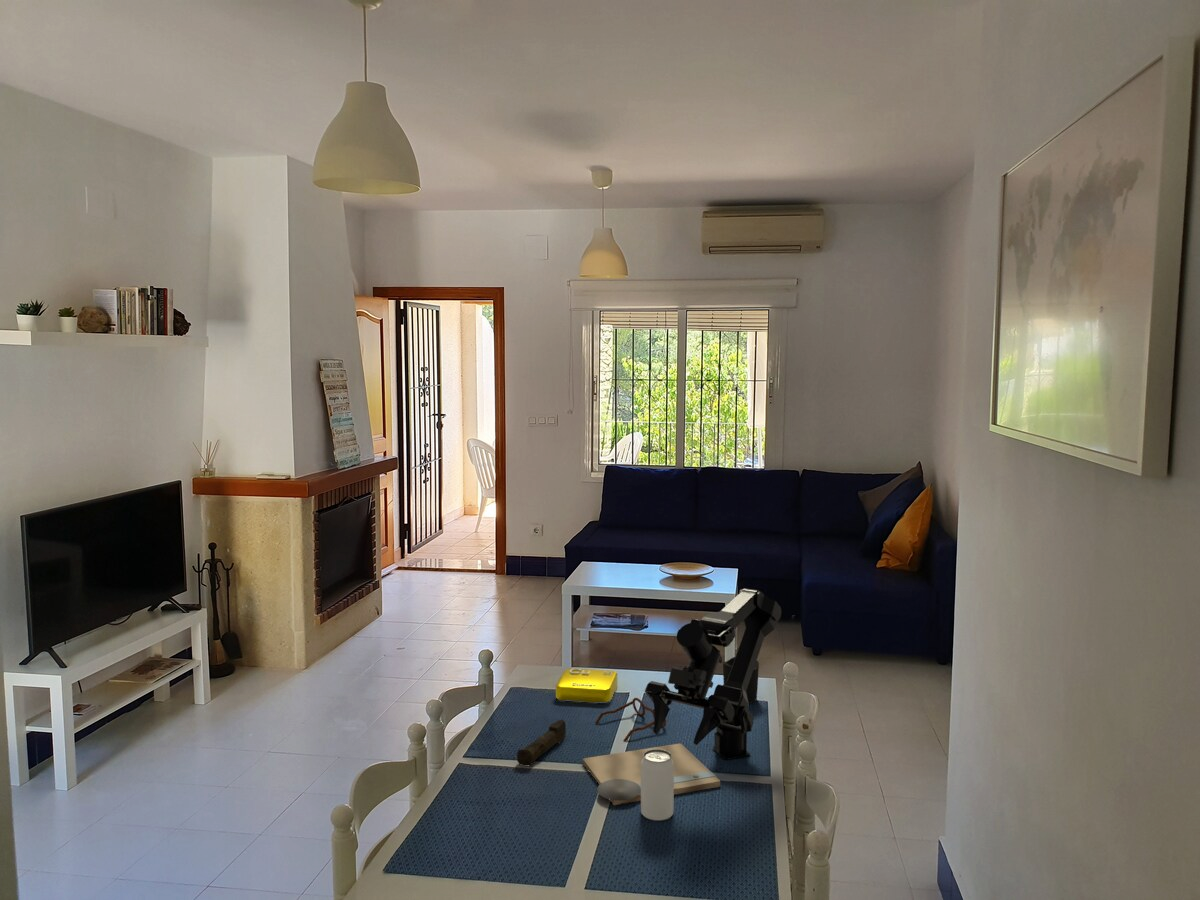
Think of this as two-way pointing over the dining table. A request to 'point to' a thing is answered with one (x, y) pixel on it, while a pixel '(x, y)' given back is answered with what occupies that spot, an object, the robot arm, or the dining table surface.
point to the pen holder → (753, 681)
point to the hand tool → (542, 743)
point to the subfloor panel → (624, 773)
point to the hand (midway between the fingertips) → (674, 738)
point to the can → (657, 785)
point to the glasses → (636, 712)
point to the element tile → (586, 685)
